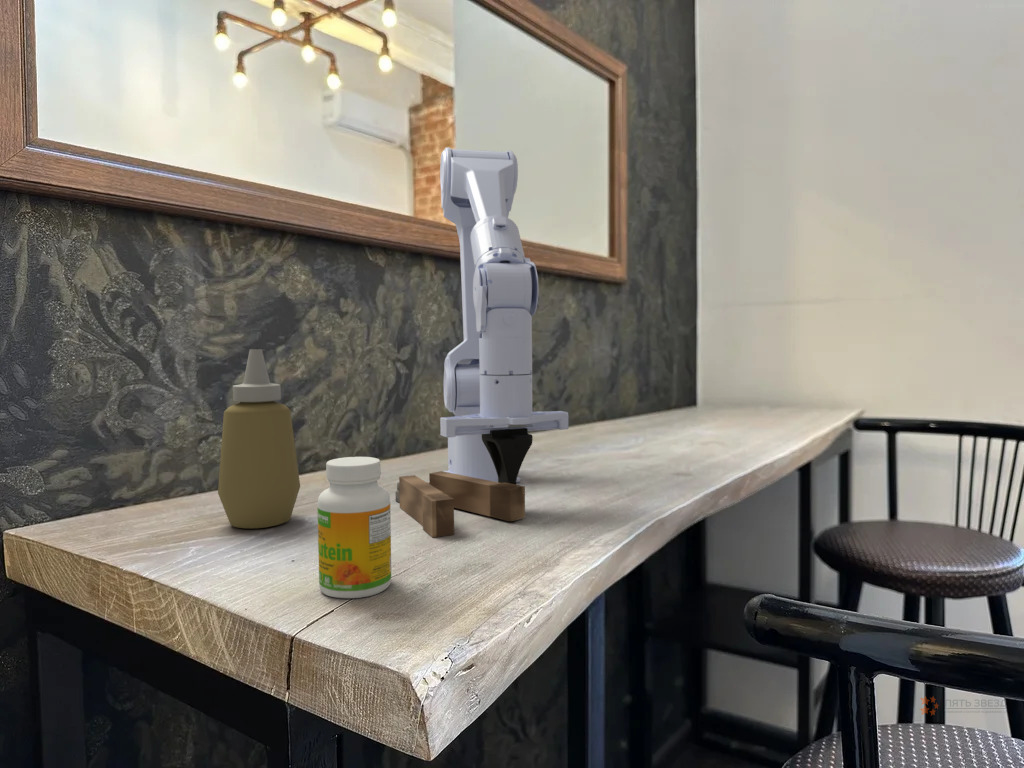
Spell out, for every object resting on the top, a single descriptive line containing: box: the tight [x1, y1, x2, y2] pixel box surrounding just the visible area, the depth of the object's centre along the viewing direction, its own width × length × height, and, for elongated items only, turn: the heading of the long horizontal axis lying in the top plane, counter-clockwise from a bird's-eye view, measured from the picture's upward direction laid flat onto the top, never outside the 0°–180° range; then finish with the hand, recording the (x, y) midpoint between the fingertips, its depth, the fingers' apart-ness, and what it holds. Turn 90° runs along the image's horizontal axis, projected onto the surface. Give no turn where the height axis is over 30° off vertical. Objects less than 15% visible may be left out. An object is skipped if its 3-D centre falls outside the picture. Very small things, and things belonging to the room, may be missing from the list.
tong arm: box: [396, 470, 526, 523], centre depth 76 cm, size 18×4×3 cm, turn 46°
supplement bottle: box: [317, 456, 392, 599], centre depth 51 cm, size 5×5×10 cm
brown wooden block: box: [394, 474, 455, 538], centre depth 74 cm, size 18×4×4 cm, turn 25°
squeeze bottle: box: [217, 348, 301, 529], centre depth 70 cm, size 8×8×18 cm
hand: (506, 498), depth 74 cm, fingers closed
